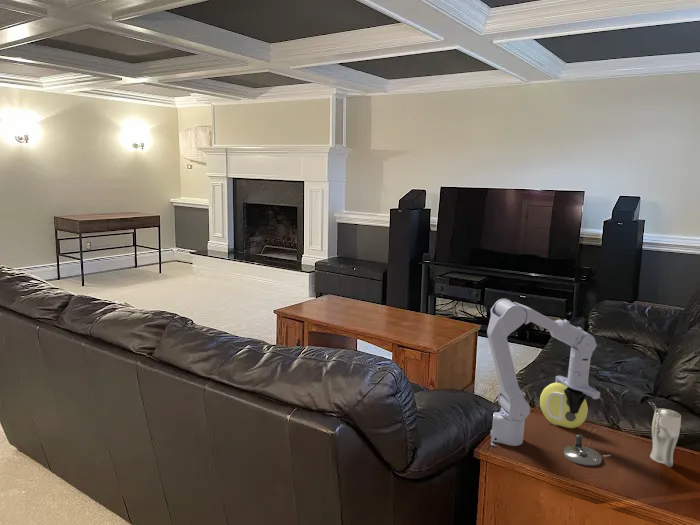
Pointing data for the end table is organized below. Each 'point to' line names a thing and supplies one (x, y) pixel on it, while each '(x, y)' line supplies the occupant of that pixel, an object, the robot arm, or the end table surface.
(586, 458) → the cam dial
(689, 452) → the end table surface
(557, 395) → the emoji
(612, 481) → the end table surface
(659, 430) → the beer glass
